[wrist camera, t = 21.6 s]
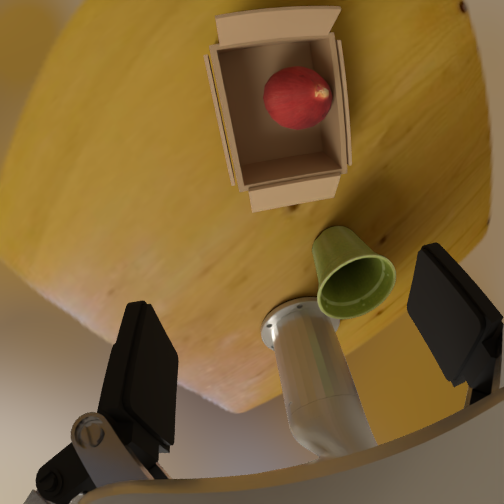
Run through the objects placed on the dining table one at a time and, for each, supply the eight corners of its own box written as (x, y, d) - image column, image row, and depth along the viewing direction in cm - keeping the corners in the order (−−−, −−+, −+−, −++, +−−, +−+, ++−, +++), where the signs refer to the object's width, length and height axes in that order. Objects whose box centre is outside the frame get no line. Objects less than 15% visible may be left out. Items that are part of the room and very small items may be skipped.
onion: (294, 72, 26) (347, 56, 19) (306, 125, 29) (361, 122, 22) (242, 79, 24) (288, 57, 18) (256, 136, 27) (305, 133, 20)
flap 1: (341, 9, 14) (340, 6, 14) (215, 18, 14) (215, 15, 14) (327, 35, 18) (326, 32, 18) (220, 46, 18) (219, 43, 18)
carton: (330, 153, 31) (352, 172, 26) (230, 170, 31) (233, 193, 26) (317, 37, 23) (340, 32, 18) (204, 51, 23) (201, 47, 19)
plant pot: (365, 264, 41) (391, 307, 34) (302, 280, 41) (319, 328, 34) (366, 207, 35) (400, 246, 28) (295, 222, 36) (315, 267, 29)
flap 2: (252, 212, 30) (251, 209, 30) (333, 197, 29) (332, 194, 30) (248, 191, 26) (248, 188, 26) (340, 175, 26) (339, 172, 26)
